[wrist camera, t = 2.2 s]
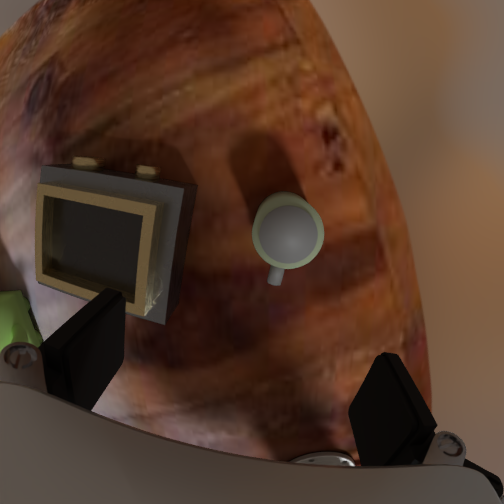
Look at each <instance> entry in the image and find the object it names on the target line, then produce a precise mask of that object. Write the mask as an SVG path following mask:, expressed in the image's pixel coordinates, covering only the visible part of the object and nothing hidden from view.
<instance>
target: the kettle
mask: <svg viewBox="0 0 504 504" xmlns="http://www.w3.org/2000/svg"><path fill="white" fill-rule="evenodd" d="M29 310H30V304H29V301H28V300H27V299H26V298H25V297H23V295H22V292H21V290H17V291H1V292H0V352H1V351H2V349H3V348H4V347H5V346H7V345H8V344H11V343H14V342H27V343H31V344H33V345H35V346H36V347H37V348H38V347H39V346H40V345H41V344H40V343H42V341H43V340H42V337H41V335H40V334H39V332H37V331H35V329H34V327H33V324H32V321H31V318H30V316H29V313H28V311H29Z"/></svg>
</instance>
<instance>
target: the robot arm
mask: <svg viewBox="0 0 504 504" xmlns="http://www.w3.org/2000/svg"><path fill="white" fill-rule="evenodd" d="M125 312H126V298H125V297H123V296H122V292H120V291H117V290H114V289H111V288H105V289H104V290H103V291H102V292H100V293H99V294H98V295H97V296H96V297H94V298H93V299H92V300H91V301H90V302H89V303H87V304H86V305H85V306H84V307H83V308H82V309H80V310H79V311H78V312H77V313H76V314H75V315H73V316H72V317H71V318H70V319H69V320H68V321H67V322H65V323H64V324H63V325H62V326H61V327H60V328H59V329H58V330H56V331H55V332H54V333H53V334H52V335H51V336H50V337H49V338H47V339H46V340H45V341H44V342H43V343H42V344H41V345H40V346H39V347H38V348H37V347H36V346H35V345H33V344H31V343H27V342H14V343H11V344H8V345H7V346H5V347H4V348H3V349H2V351H1V352H0V504H504V495H502V494H503V485H502V483H501V480H500V478H499V477H498V476H496V475H494V474H493V473H491V472H489V471H487V470H485V469H483V468H481V467H480V466H478V465H476V464H474V463H472V462H471V461H469V460H467V459H465V455H466V446H465V444H464V442H463V441H462V439H460V438H459V437H458V436H457V435H455V434H454V433H451V432H448V431H441V432H438V433H436V434H435V432H434V429H435V428H436V427H437V424H436V421H435V420H434V418H433V416H432V414H431V412H430V410H429V408H428V406H427V405H426V403H425V401H424V399H423V397H422V396H421V394H420V392H419V390H418V388H417V387H416V385H415V383H414V381H413V380H412V378H411V376H410V374H409V373H408V371H407V369H406V367H405V366H404V364H403V362H402V361H401V359H400V357H399V356H398V355H397V354H393V353H387V352H383V353H382V354H381V355H378V356H377V357H376V358H375V360H374V362H373V364H372V366H371V368H370V370H369V372H368V374H367V376H366V378H365V380H364V382H363V383H362V385H361V387H360V389H359V391H358V393H357V394H356V396H355V398H354V400H353V401H352V403H351V405H350V407H349V411H348V414H349V419H350V423H351V426H352V430H353V434H354V438H355V442H356V446H357V450H358V454H359V458H360V462H361V466H355V463H354V460H353V459H352V458H351V457H349V456H348V455H345V454H342V453H337V452H317V453H311V454H307V455H303V456H300V457H298V458H295V459H293V460H291V461H290V462H285V461H277V460H269V459H262V458H256V457H249V456H244V455H238V454H233V453H228V452H223V451H218V450H213V449H209V448H205V447H200V446H196V445H192V444H188V443H184V442H181V441H177V440H173V439H170V438H166V437H163V436H160V435H156V434H153V433H150V432H147V431H144V430H141V429H138V428H135V427H132V426H129V425H126V424H124V423H121V422H118V421H115V420H113V419H110V418H107V417H105V416H102V415H100V414H97V413H95V412H92V411H91V410H92V409H93V407H94V405H95V404H96V402H97V401H98V399H99V398H100V396H101V395H102V393H103V392H104V390H105V389H106V387H107V386H108V384H109V383H110V381H111V380H112V378H113V377H114V375H115V374H116V372H117V371H118V369H119V368H120V366H121V365H122V363H123V359H124V335H125Z"/></svg>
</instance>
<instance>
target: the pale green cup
mask: <svg viewBox="0 0 504 504" xmlns="http://www.w3.org/2000/svg"><path fill="white" fill-rule="evenodd" d="M252 239H253V243H254V246H255V249H256V251H257V252H258V254H259V255H260V256H261V257H262V258H263V259H264V260H265V261H266V262H267V263H269V264H271V267H270V271H269V275H268V279H267V282H268V283H269V284H272V285H277V286H278V285H281V281H282V277H283V274H284V270H285V269H292V268H297V267H300V266H303V265H305V264H307V263H308V262H310V261H311V260H312V259H313V258H314V257H315V256H316V255H317V254H318V252H319V250H320V248H321V246H322V243H323V239H324V227H323V223H322V220H321V218H320V216H319V214H318V213H317V212H316V210H315V209H314V208H313V207H312V206H311V205H309V204H308V203H307V202H306V201H305V200H304V199H303V198H302V197H300V196H299V195H297V194H295V193H292V192H286V191H282V192H276V193H274V194H271V195H270V196H268V197H267V198H266V199H264V200H263V202H262V203H261V204H260V206H259V208H258V211H257V214H256V217H255V221H254V224H253V229H252Z"/></svg>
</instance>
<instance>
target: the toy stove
mask: <svg viewBox="0 0 504 504" xmlns="http://www.w3.org/2000/svg"><path fill="white" fill-rule="evenodd" d="M104 165H105V159H104V158H98V157H89V156H72V163H71V164H58V165H42V168H41V177H40V183H38V187H37V200H36V220H35V268H36V280H37V281H38V283H39V284H42V285H44V286H47V287H50V288H52V289H55V290H58V291H60V292H63V293H66V294H69V295H71V296H74V297H77V298H80V299H83V300H86V301H89V302H90V301H91V300H92V299H93V298H94V297H96V296H97V295H98V294H99V293H100V292H102V291H103V290H104V289H105V288H111V289H114V290H117V291H120V292H122V296H123V297H125V298H126V312H125V313H126V314H129V315H132V316H136V317H139V318H142V319H146V320H149V321H153V322H156V323H160V324H163V325H165V324H166V322H167V321H168V319H169V318H170V316H171V315H172V313H173V311H174V310H175V308H176V307H177V305H178V304H179V297H180V289H181V282H182V275H183V269H184V262H185V255H186V249H187V243H188V237H189V231H190V225H191V219H192V214H193V208H194V203H195V197H196V192H197V187H198V185H194V184H189V183H183V182H178V181H173V180H167V179H162V178H159V177H160V172H161V167H156V166H150V165H142V164H137V165H136V170H135V174H133V173H126V172H120V171H114V170H107V169H104Z"/></svg>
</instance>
